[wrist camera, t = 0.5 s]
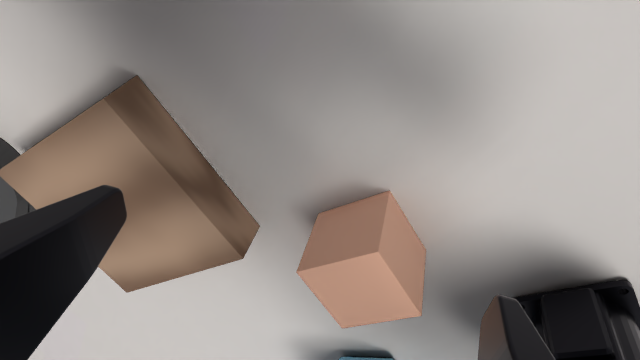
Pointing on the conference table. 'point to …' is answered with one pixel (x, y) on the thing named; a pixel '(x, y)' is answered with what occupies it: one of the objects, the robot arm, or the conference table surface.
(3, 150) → the media streaming box
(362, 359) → the data package
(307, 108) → the conference table surface
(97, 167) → the walnut block
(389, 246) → the terracotta block
